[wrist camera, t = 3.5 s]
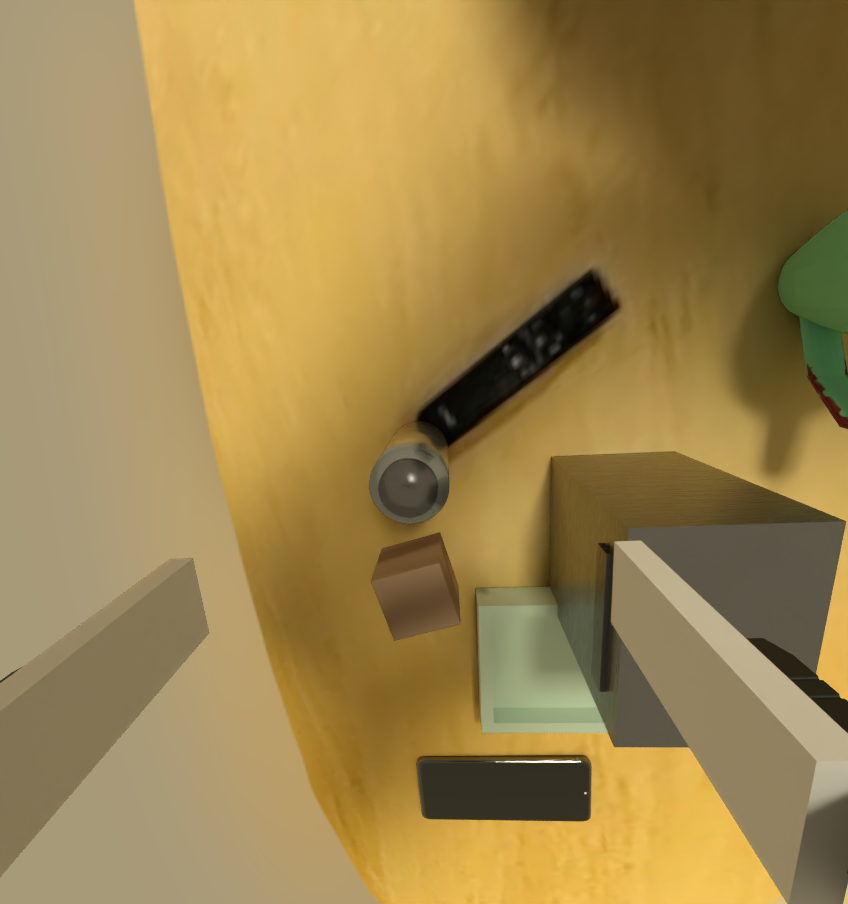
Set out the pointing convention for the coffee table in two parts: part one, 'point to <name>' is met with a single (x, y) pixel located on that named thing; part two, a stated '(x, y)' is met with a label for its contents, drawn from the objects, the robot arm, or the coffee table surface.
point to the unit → (682, 567)
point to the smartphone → (505, 787)
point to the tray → (529, 666)
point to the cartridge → (412, 474)
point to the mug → (822, 310)
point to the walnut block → (417, 587)
